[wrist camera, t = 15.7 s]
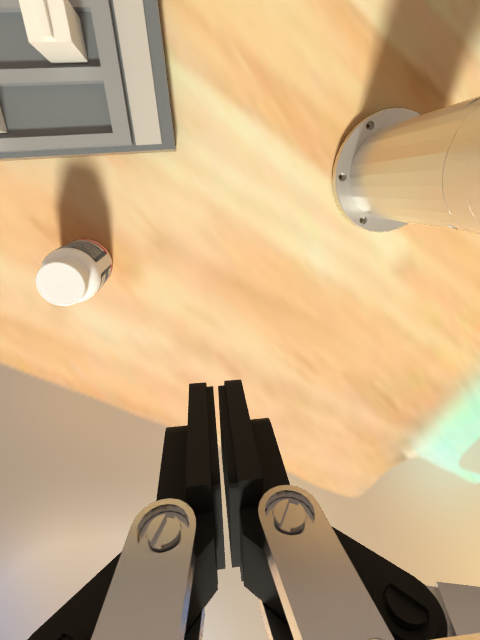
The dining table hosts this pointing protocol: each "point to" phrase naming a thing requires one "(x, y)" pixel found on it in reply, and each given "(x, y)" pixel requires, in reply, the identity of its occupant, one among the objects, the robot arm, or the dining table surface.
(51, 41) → the tab
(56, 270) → the pill bottle
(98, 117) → the switch bank
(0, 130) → the tab
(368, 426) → the dining table surface
